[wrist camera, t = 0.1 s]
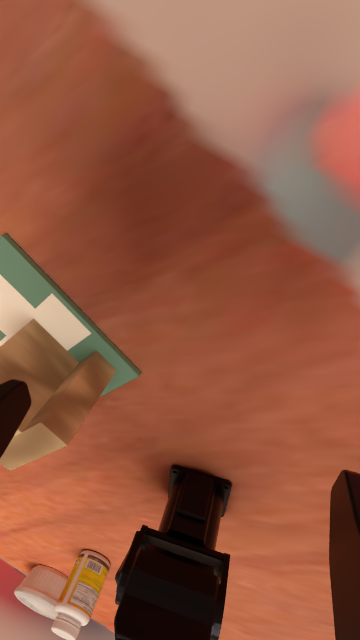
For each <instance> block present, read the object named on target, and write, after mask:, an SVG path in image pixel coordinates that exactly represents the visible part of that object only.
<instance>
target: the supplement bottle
mask: <svg viewBox="0 0 360 640" xmlns="http://www.w3.org/2000/svg"><path fill="white" fill-rule="evenodd" d="M109 568H110V564H109V561H108V560H107V559H106V558H105V557H104V556H102V555H100V554H99V553H96V552H94V551H90V550H85V551H82V552H81V553H80V555H79V557H78V559H77V561H76V563H75V565H74V567H73V570H72V572H71V574H70V576H69V578H68V580H67V582H66V585H65V587H64V589H63V591H62V593H61V595H60V597H59V599H58V602H57V604H56V606H55V611H56V613H57V614H58V616H56V619H55V620H54V623H53V625H52V628H51V629H52V631H53V632H54V633H55V634H57V635H58V636H60V637H62V638H64V639H67V640H76V638H77V636H78V633H79V630H80V628H81V627H80V626H85V625H86V624H87V623H88V622H89V620H90V617H91V615H92V612H93V609H94V607H95V604H96V602H97V599H98V597H99V594H100V592H101V589H102V586H103V584H104V581H105V579H106V576H107V574H108V571H109Z"/></svg>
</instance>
